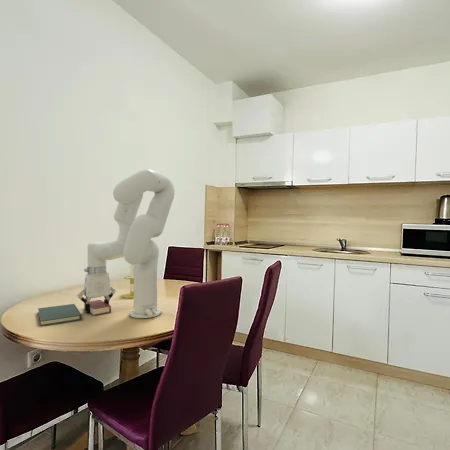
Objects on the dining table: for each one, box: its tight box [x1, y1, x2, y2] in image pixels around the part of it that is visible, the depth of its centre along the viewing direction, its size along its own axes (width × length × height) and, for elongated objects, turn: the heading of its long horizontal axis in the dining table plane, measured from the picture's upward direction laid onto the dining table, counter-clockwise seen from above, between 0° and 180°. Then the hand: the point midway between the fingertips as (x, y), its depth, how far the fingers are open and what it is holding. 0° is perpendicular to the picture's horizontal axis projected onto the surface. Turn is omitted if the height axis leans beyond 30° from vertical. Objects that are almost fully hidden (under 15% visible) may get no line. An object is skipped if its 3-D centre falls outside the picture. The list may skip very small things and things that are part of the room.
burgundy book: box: [83, 299, 112, 317], centre depth 141 cm, size 13×7×3 cm, turn 41°
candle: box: [122, 263, 135, 299], centre depth 168 cm, size 10×10×27 cm
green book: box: [37, 303, 82, 327], centre depth 133 cm, size 20×14×2 cm
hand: (97, 310), depth 141 cm, fingers closed on burgundy book, 7 cm apart
